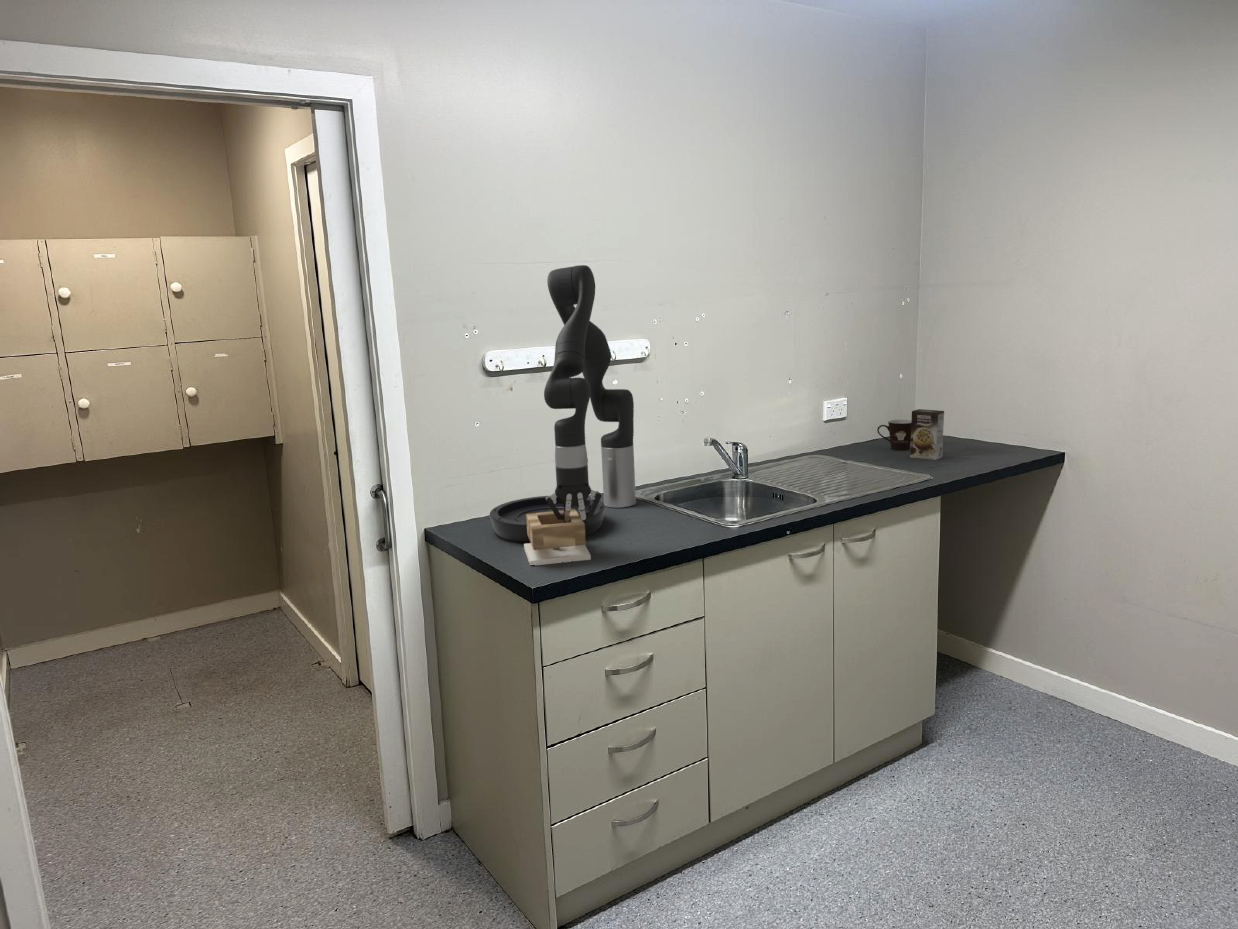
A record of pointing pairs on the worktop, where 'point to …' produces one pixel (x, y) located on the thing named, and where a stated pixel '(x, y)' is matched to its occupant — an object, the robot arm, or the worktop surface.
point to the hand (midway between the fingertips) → (575, 534)
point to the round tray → (513, 514)
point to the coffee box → (927, 434)
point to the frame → (555, 530)
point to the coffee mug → (898, 434)
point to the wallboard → (556, 554)
